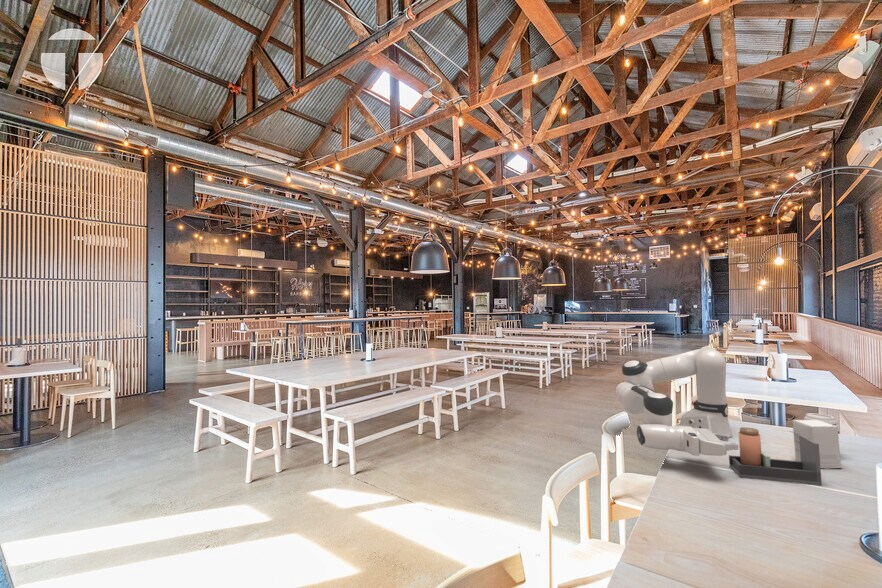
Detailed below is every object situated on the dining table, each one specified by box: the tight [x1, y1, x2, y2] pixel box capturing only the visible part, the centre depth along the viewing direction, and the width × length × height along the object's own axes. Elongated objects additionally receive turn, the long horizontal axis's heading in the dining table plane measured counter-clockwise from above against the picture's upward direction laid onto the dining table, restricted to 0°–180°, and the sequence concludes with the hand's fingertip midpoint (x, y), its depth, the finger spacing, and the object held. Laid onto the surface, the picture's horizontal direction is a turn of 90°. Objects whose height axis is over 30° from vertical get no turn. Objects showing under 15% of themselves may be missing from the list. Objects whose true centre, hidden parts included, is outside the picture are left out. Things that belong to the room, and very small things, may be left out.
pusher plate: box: [761, 449, 771, 467], centre depth 137 cm, size 1×7×6 cm, turn 160°
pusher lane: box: [728, 435, 822, 486], centre depth 136 cm, size 22×10×13 cm, turn 70°
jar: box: [738, 426, 762, 466], centre depth 138 cm, size 6×6×14 cm
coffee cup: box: [803, 412, 839, 426], centre depth 154 cm, size 10×10×15 cm
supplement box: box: [792, 419, 842, 469], centre depth 145 cm, size 9×9×15 cm
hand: (732, 442), depth 139 cm, fingers open, 8 cm apart
